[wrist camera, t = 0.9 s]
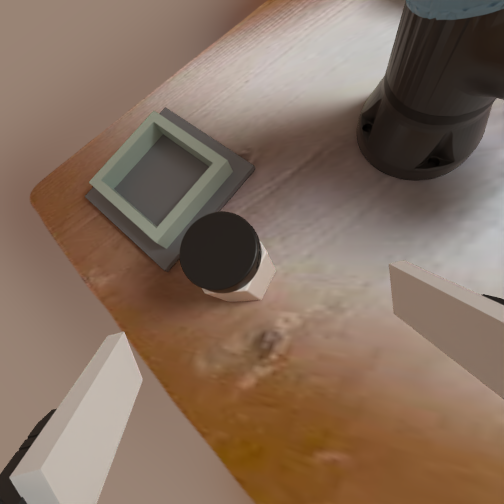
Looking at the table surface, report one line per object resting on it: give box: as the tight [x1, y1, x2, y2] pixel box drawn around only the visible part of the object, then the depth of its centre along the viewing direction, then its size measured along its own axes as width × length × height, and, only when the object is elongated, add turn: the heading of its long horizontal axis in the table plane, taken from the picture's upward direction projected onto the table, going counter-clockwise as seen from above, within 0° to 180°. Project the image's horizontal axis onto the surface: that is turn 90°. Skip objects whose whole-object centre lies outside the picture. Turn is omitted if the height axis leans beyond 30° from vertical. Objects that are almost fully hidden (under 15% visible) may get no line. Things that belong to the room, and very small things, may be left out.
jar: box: [179, 212, 276, 302], centre depth 34 cm, size 9×8×12 cm
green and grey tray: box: [85, 107, 255, 272], centre depth 44 cm, size 20×20×4 cm
